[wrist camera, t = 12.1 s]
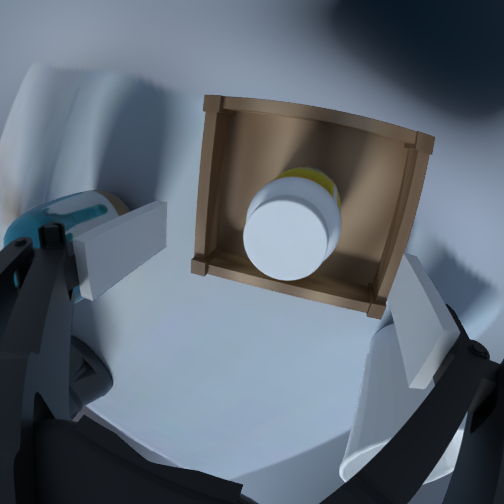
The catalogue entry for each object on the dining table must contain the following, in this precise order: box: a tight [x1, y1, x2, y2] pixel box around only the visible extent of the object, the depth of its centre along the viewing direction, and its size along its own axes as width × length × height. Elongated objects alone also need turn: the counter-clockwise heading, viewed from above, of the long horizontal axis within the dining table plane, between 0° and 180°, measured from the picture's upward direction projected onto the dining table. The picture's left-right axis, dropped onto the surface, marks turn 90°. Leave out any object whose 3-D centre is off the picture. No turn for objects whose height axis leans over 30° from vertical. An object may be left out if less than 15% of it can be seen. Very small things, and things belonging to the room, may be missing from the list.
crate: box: [191, 95, 435, 319], centre depth 24 cm, size 18×16×5 cm
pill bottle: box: [243, 166, 342, 280], centre depth 20 cm, size 6×6×11 cm
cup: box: [340, 323, 467, 485], centre depth 22 cm, size 12×12×16 cm
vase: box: [2, 190, 130, 304], centre depth 25 cm, size 11×11×19 cm
